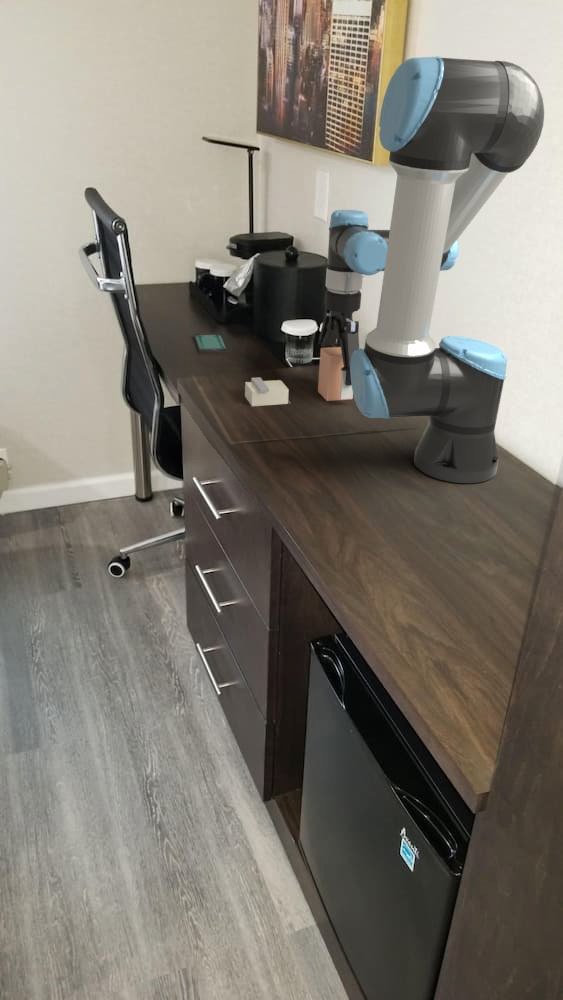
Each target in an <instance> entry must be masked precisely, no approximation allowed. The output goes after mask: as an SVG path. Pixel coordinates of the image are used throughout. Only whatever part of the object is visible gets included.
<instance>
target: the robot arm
mask: <svg viewBox="0 0 563 1000" xmlns="http://www.w3.org/2000/svg"><path fill="white" fill-rule="evenodd" d="M543 99H544V98H543V95H542V93H541V90H540V88H539V86H538V84H537V82H536V81H535V79H534V78H533V77H532V75H531V74H530V73H529V72H528V71H527V70H525V69H524V68H522V67H521V66H520V65H518V64H515V63H513V62H509V61H504V60H495V61H494V60H479V59H477V60H476V59H466V58H454V57H453V58H452V57H441V56H437V55H436V56H428V57H427V56H424V57H423V56H422V57H411V58H408V59H406V60H404V61H403V62H402V63H400V65H399V66H398V67H396V69H395V71H394V72H393V75H392V76H391V78H390V80H389V83H388V85H387V86H386V90H385V93H384V96H383V100H382V104H381V109H380V114H379V121H378V122H379V123H378V124H379V125H378V126H379V133H378V135H379V141H380V142H379V143H380V145H381V146H382V147H383V149H384V150H387V151H388V152H389V158H388V163H389V165H391V167H392V168H393V170H394V171H395V172H396V175H397V177H396V182H395V183H396V184H395V189H394V190H395V191H394V196H393V204H392V205H393V206H392V211H391V219H390V225H389V227H390V228H389V229H369V215H368V214H367V212H365V211H362V210H356V209H338V210H337V209H336V210H334V211H332V213H331V215H330V223H329V227H328V231H329V232H328V233H329V234H328V247H327V248H328V250H327V266H326V272H325V273H326V274H325V288H327V289H326V290H325V291H324V307H325V308H324V317H323V321H322V325H321V329H320V333H319V336H318V337H319V338H318V345H320V349H321V348H331V347H336V341H337V340H338V341H339V344H340V347H341V352H342V358H343V364H344V367H343V368H341V371H342V375H341V387H340V399H347V400H353V399H354V401H355V404H356V406H357V409H358V410H359V411H360V413H361V415H363V416H365V418H369V419H371V418H372V419H374V418H377V419H385V420H389V419H392V418H393V419H394V418H395V419H396V418H415V417H416V418H417V417H420V418H421V417H429V421H428V424H427V426H426V428H425V430H424V431H423V433H422V435H421V437H420V440H419V442H417V445H416V447H415V451H414V457H413V463H414V465H415V467H416V468H417V469H418V470H419V471H420V472H422V473H424V474H425V475H427V476H429V477H431V478H434V479H437V480H441V481H444V482H450V483H457V484H478V483H483V482H486V481H488V480H491V479H493V478H494V477H495V476H496V475H497V472H498V466H499V455H498V453H499V452H498V448H497V441H496V433H495V429H496V425H497V420H498V413H499V409H500V403H501V397H502V393H503V388H504V383H505V380H506V377H507V376H506V373H507V364H508V358H507V355H506V353H505V352H504V351H503V350H502V349H501V348H499V347H497V346H495V345H493V344H491V343H488V342H486V341H482V340H479V339H475V338H470V337H465V336H457V335H450V336H449V335H448V336H444V337H442V338H441V339H440V342H439V343H438V347H437V346H436V342H435V341H434V339H433V338H432V337H431V336H430V334H429V333H430V328H431V321H432V316H433V311H434V305H435V301H436V300H435V299H436V294H437V288H438V284H439V276H440V271H448V270H450V269H452V268H453V267H454V265H455V264H456V260H457V258H458V256H459V240H458V239H459V238H460V237H461V235H462V234H463V233H464V231H465V230H466V229H467V228H468V227H469V225H470V224H471V222H473V219H474V218H475V217H476V216H477V214H478V213H479V212H480V210H481V209H482V208H483V206H484V205H485V204H486V203H487V201H488V200H489V198H491V196H492V195H493V194H494V192H495V191H496V190H497V188H498V187H499V186H500V184H501V183H502V182H503V181H504V179H505V178H506V177H507V175H508V174H510V173H514V172H516V171H518V170H519V169H521V168H522V167H523V165H524V164H525V163H526V161H527V160H528V159H529V158H530V156H531V155H532V153H533V152H534V151H535V148H536V147H537V145H538V144H539V143H538V142H539V140H540V137H541V135H542V131H543V128H544V122H545V108H544V107H545V106H544V100H543ZM379 272H383V279H382V285H381V291H380V297H379V298H380V300H379V307H378V314H377V321H376V328H373V329H372V330H370V332H369V333H367V334H366V336H365V343H364V348H360V338H359V329H360V328H359V325H360V323H359V320H357V321H356V320H355V321H354V320H353V313H355V312H357V311H359V310H360V309H361V301H362V292H361V291H360V290H362V289H363V278H365V276H373V275H377V274H379Z"/></svg>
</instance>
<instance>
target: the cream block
mask: <svg viewBox="0 0 563 1000" xmlns="http://www.w3.org/2000/svg"><path fill="white" fill-rule="evenodd" d="M250 380H251V381H245V385H244V397H245V399H246V400H247V401H248V402H249V404H250V406H251V407H260V406H273V405H274V406H277V405H287V404H292V403H291V401H290V400H289V392H290V391H289V390H290V388H288V387H287V386H286V384H285V383H284V382H283V381H282V380H281V379H277V380H274V379H273V380H263V378H262V377H251V379H250Z"/></svg>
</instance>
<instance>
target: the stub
mask: <svg viewBox="0 0 563 1000" xmlns="http://www.w3.org/2000/svg"><path fill="white" fill-rule="evenodd" d="M319 355H320V357H319V358H320V359H319V369H318V383H317V384H318V385H317V392H318V393H319V394H320V395H321V396H322V397H323V398H324V400H325V401H326V402H328V401H329V402H330V401H345V400H348V399H340V387H341V375H342V371H341V368H343V367H344V364H343V358H342V352H341V346H335V347H331V348H321V347H320V353H319Z"/></svg>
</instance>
